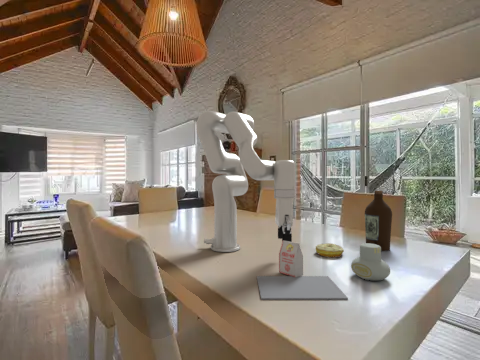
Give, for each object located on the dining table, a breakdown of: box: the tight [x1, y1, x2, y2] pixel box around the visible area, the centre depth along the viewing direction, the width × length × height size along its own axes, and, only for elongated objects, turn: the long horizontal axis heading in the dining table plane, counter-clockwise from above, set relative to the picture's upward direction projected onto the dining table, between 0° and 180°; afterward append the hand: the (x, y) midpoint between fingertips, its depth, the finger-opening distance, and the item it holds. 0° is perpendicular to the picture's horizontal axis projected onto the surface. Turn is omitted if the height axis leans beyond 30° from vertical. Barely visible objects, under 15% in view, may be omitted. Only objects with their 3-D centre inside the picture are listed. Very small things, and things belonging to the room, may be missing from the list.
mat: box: [256, 275, 349, 301], centre depth 76 cm, size 22×15×1 cm
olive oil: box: [364, 190, 393, 252], centre depth 118 cm, size 11×11×25 cm
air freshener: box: [350, 242, 391, 282], centre depth 84 cm, size 11×8×10 cm
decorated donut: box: [315, 242, 345, 258], centre depth 109 cm, size 10×11×4 cm
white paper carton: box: [278, 239, 304, 277], centre depth 87 cm, size 4×7×10 cm, turn 38°
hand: (284, 241), depth 99 cm, fingers open, 9 cm apart
